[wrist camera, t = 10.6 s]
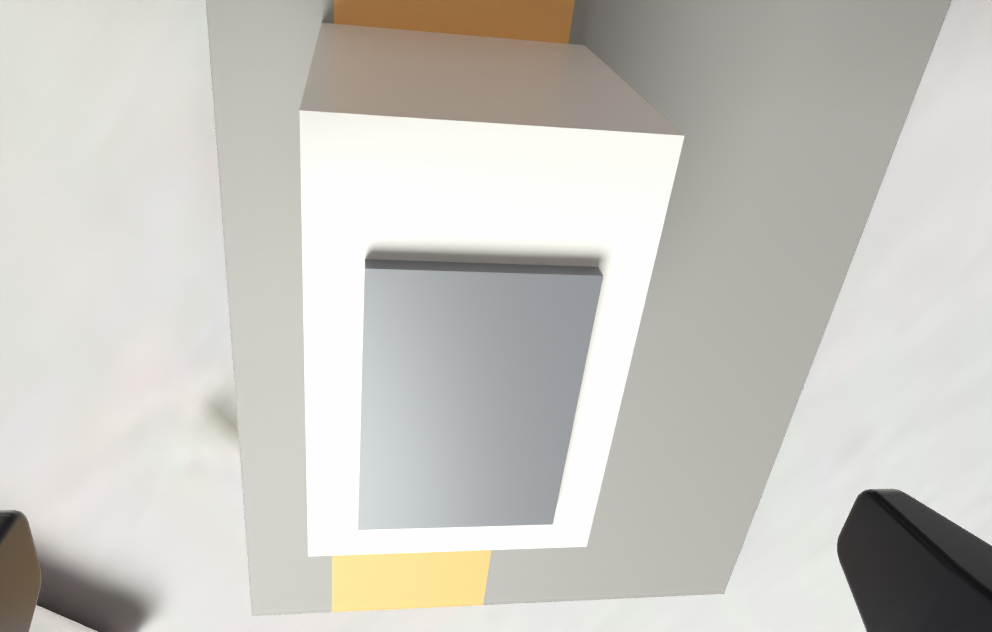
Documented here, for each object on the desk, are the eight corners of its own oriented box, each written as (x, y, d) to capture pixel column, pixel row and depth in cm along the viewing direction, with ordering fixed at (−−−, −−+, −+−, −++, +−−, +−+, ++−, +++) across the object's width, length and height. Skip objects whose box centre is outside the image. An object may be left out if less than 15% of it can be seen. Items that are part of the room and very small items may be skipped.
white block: (585, 45, 13) (691, 142, 9) (531, 373, 17) (590, 558, 13) (321, 22, 13) (297, 117, 8) (323, 371, 16) (307, 568, 12)
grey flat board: (1019, -267, 13) (1055, -273, 12) (713, 571, 23) (723, 593, 22) (185, -419, 10) (172, -437, 10) (255, 590, 20) (252, 615, 20)
